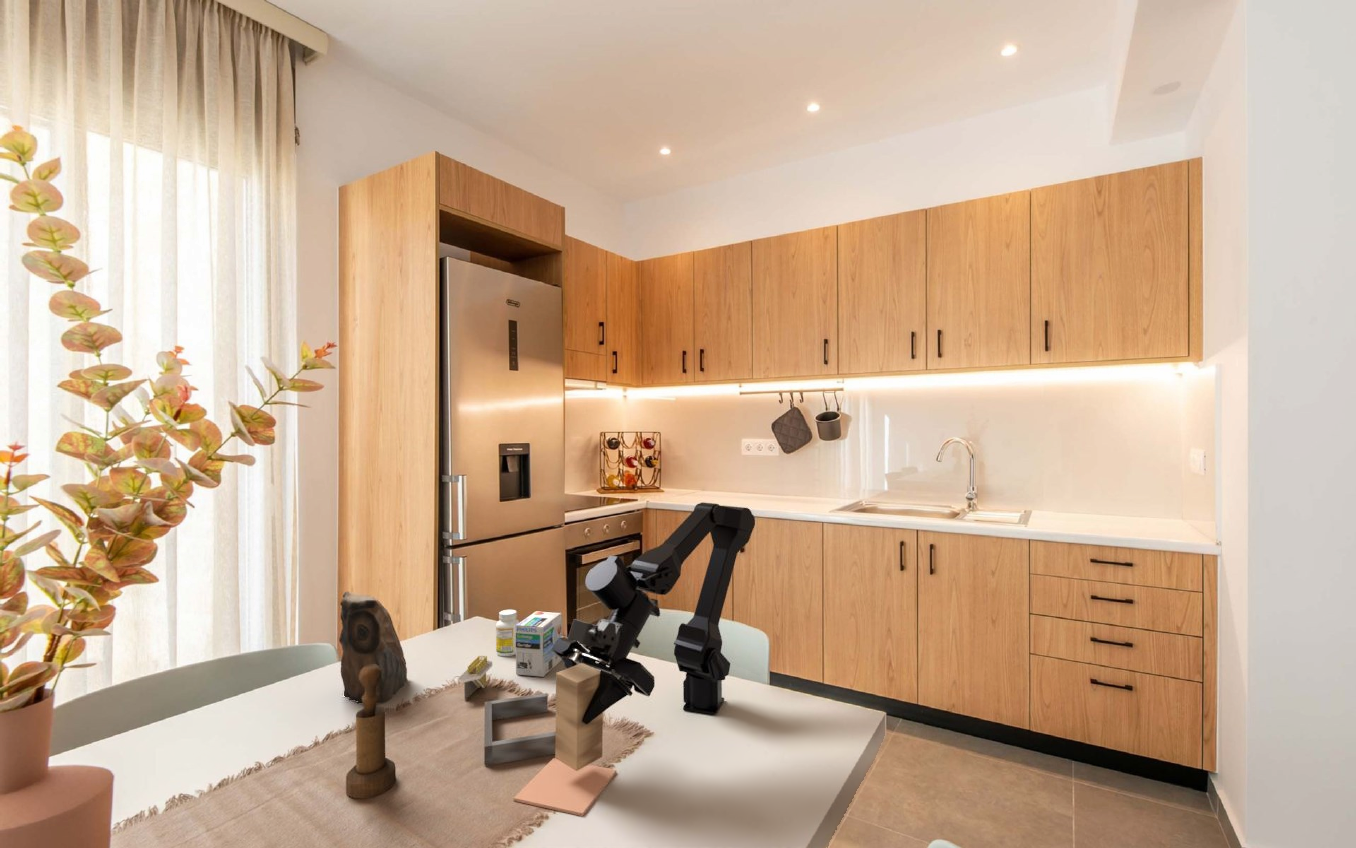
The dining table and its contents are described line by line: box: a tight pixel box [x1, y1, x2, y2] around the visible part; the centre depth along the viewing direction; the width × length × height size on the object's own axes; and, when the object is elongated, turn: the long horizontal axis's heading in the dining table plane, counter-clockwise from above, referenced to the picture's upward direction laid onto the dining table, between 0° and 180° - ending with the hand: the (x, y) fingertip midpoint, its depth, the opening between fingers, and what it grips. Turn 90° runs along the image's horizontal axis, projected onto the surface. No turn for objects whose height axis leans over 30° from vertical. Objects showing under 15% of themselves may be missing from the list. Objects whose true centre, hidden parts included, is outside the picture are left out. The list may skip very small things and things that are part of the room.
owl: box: [338, 590, 408, 705], centre depth 123 cm, size 13×13×20 cm
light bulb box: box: [515, 610, 563, 678], centre depth 135 cm, size 11×7×11 cm, turn 168°
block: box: [554, 663, 604, 771], centre depth 92 cm, size 5×5×13 cm
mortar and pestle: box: [345, 664, 397, 800], centre depth 91 cm, size 7×6×18 cm
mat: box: [513, 757, 617, 817], centre depth 90 cm, size 11×11×1 cm
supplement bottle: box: [495, 609, 520, 657], centre depth 144 cm, size 5×5×10 cm
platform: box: [457, 655, 493, 701], centre depth 123 cm, size 12×18×7 cm, turn 176°
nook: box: [483, 693, 556, 767], centre depth 105 cm, size 11×16×3 cm
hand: (572, 717), depth 91 cm, fingers closed on block, 5 cm apart
